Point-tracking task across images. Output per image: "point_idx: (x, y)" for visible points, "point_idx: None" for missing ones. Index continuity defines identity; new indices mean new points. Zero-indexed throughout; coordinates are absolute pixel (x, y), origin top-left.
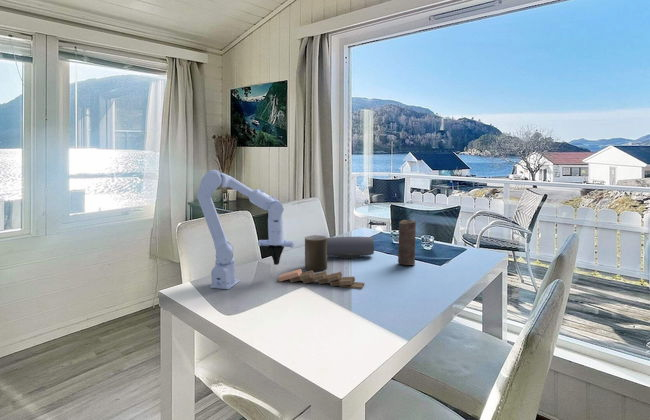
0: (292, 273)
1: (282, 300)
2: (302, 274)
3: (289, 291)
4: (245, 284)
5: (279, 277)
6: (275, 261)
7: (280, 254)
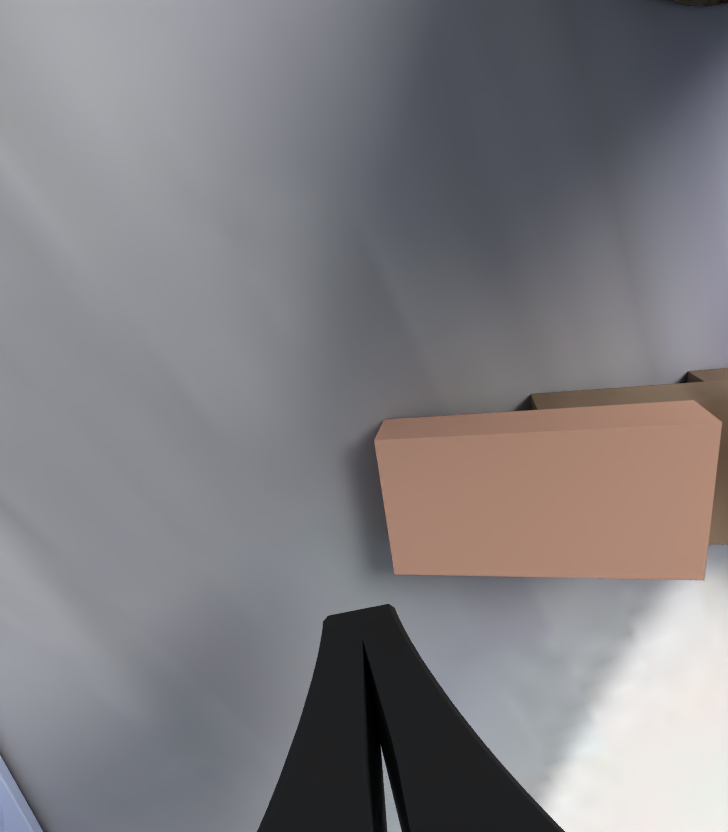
0: (611, 565)
1: (594, 814)
2: (721, 490)
3: (592, 687)
4: (105, 731)
5: (413, 572)
6: (380, 757)
7: (486, 783)
